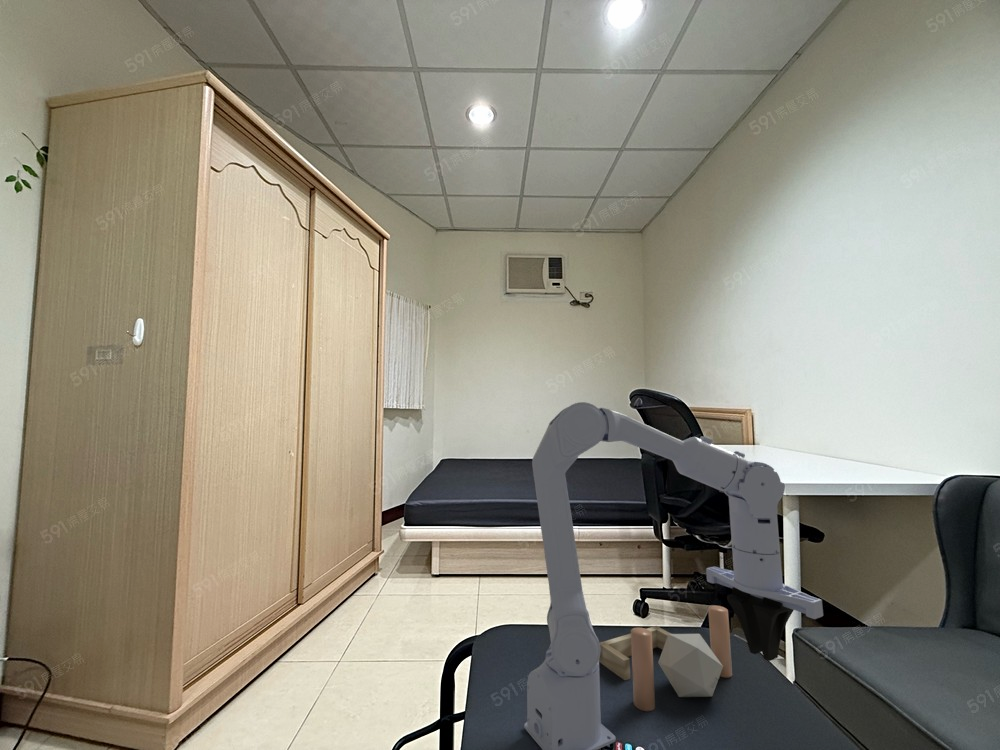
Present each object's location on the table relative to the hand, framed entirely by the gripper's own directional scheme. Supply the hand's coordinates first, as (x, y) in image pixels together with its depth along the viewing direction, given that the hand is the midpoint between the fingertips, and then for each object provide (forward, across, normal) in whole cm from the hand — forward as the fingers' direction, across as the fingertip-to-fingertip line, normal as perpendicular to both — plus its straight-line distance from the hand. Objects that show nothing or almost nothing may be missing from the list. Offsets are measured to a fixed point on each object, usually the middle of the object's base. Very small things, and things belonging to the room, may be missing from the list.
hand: (763, 654), depth 56 cm
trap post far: (+10, +13, -9) cm, 19 cm away
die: (+11, +12, 0) cm, 16 cm away
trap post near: (+10, +13, +9) cm, 19 cm away
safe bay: (+10, +22, 0) cm, 24 cm away
